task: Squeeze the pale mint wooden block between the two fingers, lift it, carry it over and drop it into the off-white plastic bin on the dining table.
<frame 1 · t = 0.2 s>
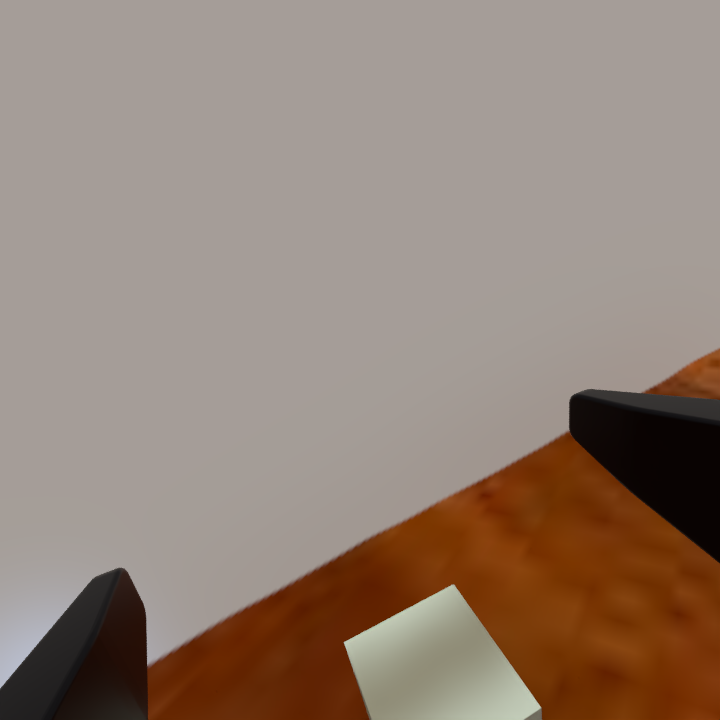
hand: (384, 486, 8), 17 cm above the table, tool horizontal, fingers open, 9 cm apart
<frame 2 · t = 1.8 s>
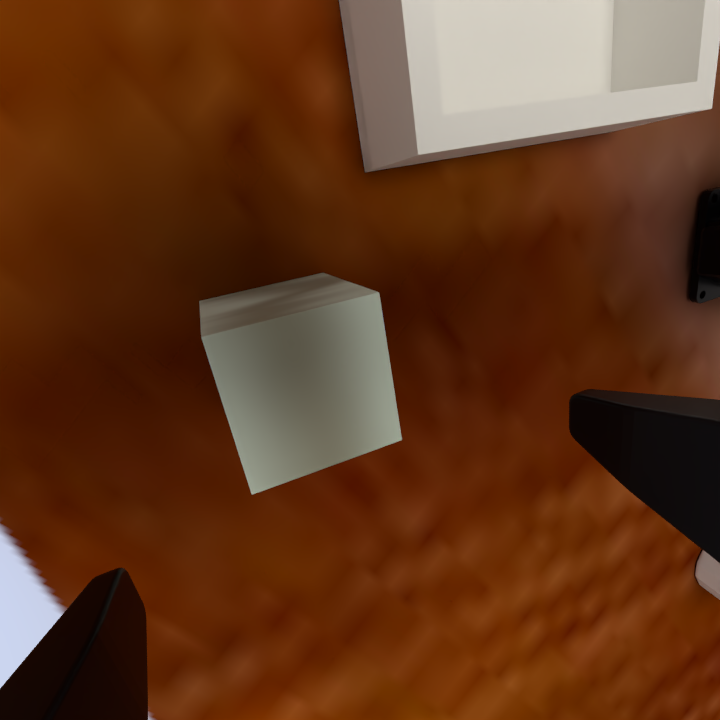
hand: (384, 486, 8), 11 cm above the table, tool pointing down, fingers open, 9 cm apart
mint block: (278, 344, 18), on the table
white cup: (718, 550, 37), on the table
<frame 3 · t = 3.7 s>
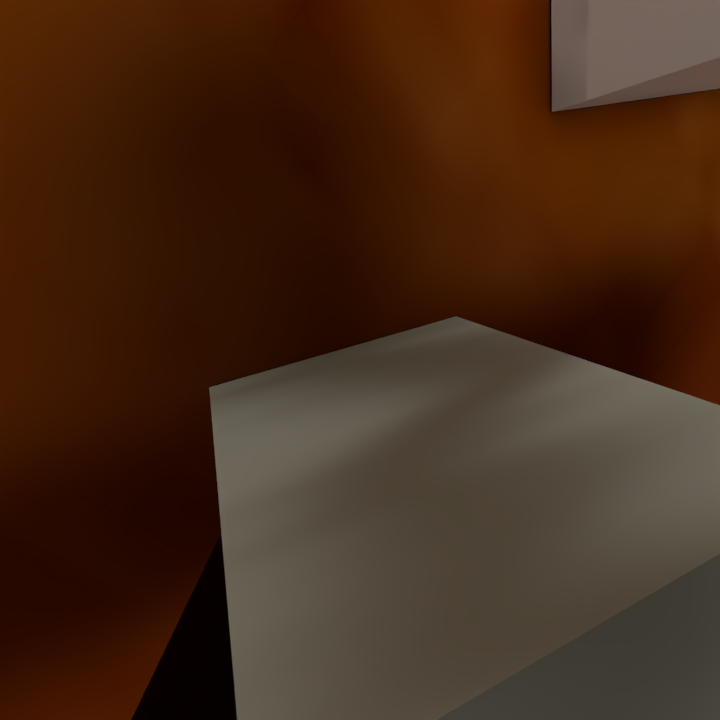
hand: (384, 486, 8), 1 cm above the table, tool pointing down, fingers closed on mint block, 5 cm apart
mint block: (364, 458, 9), on the table, touching gripper
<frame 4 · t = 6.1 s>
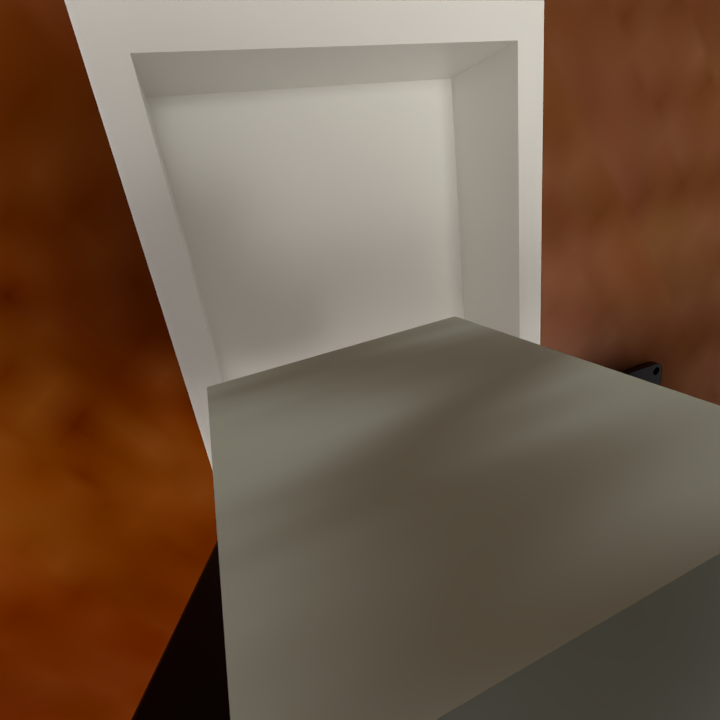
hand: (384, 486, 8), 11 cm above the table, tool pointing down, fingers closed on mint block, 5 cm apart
mint block: (363, 458, 9), point 10 cm above the table, touching gripper
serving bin: (333, 247, 17), on the table
when the fingers open (3 cm above the table, at t = 8.6 s): mint block drops 2 cm, resting on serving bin.
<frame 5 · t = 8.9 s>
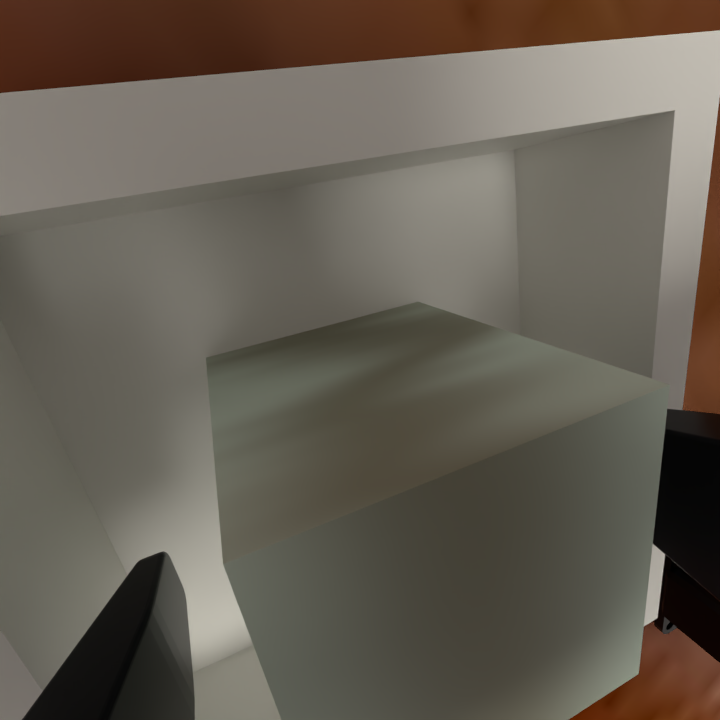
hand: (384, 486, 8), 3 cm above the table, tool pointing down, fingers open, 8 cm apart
mint block: (340, 424, 10), point 1 cm above the table, touching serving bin
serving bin: (330, 413, 11), on the table
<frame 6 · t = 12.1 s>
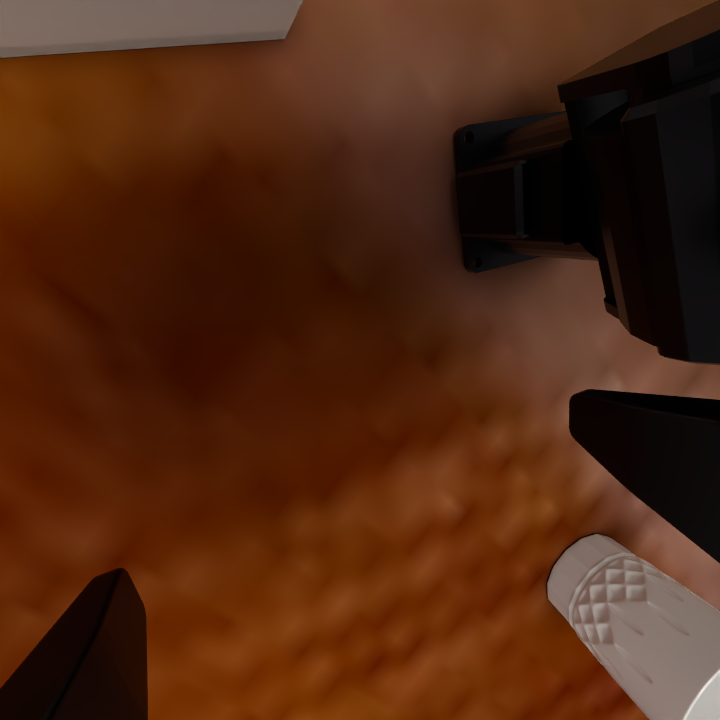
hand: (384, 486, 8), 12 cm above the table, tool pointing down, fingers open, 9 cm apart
white cup: (578, 568, 32), on the table
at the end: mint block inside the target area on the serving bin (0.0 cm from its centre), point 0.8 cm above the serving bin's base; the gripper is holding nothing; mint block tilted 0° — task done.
